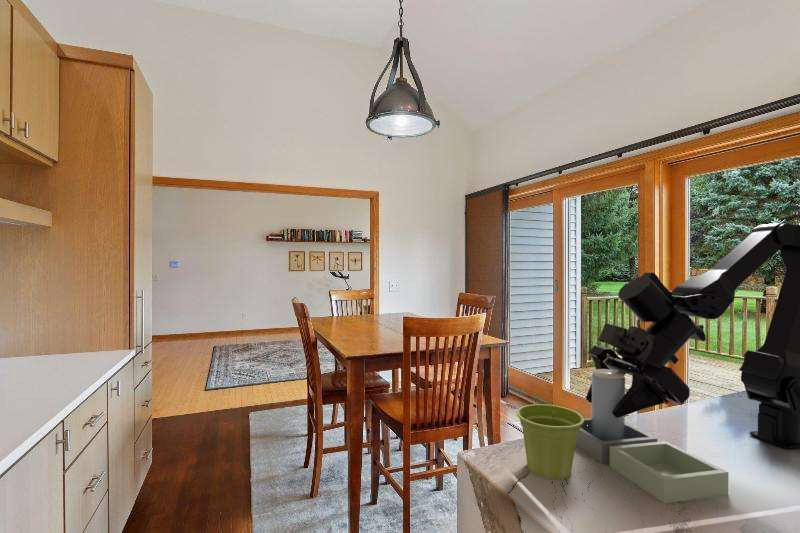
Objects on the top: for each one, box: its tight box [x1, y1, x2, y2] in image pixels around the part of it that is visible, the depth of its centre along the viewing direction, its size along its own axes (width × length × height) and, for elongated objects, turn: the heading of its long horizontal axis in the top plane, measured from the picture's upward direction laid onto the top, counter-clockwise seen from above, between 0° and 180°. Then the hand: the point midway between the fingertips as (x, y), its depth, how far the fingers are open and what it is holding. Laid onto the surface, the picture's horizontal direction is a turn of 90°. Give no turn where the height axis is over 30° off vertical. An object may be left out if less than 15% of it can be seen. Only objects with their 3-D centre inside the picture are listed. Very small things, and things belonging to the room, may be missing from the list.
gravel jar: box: [591, 368, 626, 441], centre depth 71 cm, size 5×5×12 cm
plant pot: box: [516, 403, 584, 480], centre depth 63 cm, size 9×9×9 cm
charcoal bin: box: [575, 417, 659, 464], centre depth 71 cm, size 10×10×4 cm
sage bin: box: [609, 440, 730, 505], centre depth 60 cm, size 10×10×4 cm
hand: (600, 407), depth 71 cm, fingers open, 7 cm apart
